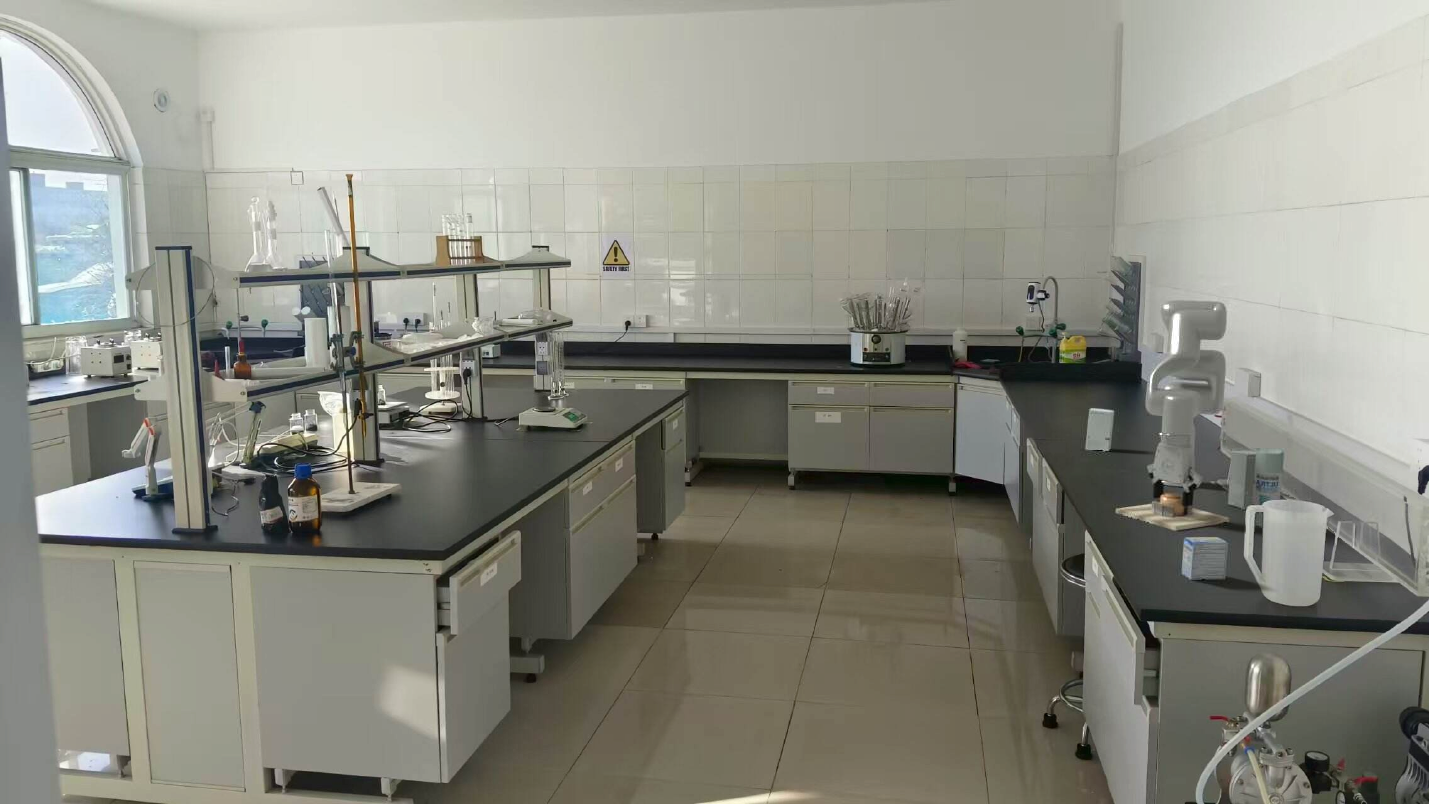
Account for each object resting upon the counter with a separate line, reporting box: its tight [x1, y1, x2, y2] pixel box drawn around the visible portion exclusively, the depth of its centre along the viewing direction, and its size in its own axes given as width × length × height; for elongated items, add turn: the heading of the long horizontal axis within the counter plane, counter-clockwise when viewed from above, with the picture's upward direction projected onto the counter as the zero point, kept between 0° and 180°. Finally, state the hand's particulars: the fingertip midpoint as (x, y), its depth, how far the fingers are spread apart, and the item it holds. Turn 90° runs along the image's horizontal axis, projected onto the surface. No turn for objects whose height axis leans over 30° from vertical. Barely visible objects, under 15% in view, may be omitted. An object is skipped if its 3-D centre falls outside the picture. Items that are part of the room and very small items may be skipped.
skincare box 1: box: [1085, 407, 1115, 452], centre depth 377 cm, size 8×6×15 cm
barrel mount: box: [1115, 500, 1230, 532], centre depth 283 cm, size 20×20×4 cm
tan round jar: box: [1159, 492, 1184, 516], centre depth 282 cm, size 6×6×5 cm
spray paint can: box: [1252, 448, 1285, 529], centre depth 274 cm, size 6×6×20 cm
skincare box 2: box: [1227, 450, 1256, 510], centre depth 295 cm, size 8×7×16 cm
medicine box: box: [1181, 536, 1229, 581], centre depth 231 cm, size 8×4×9 cm, turn 92°
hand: (1172, 501), depth 283 cm, fingers open, 9 cm apart
